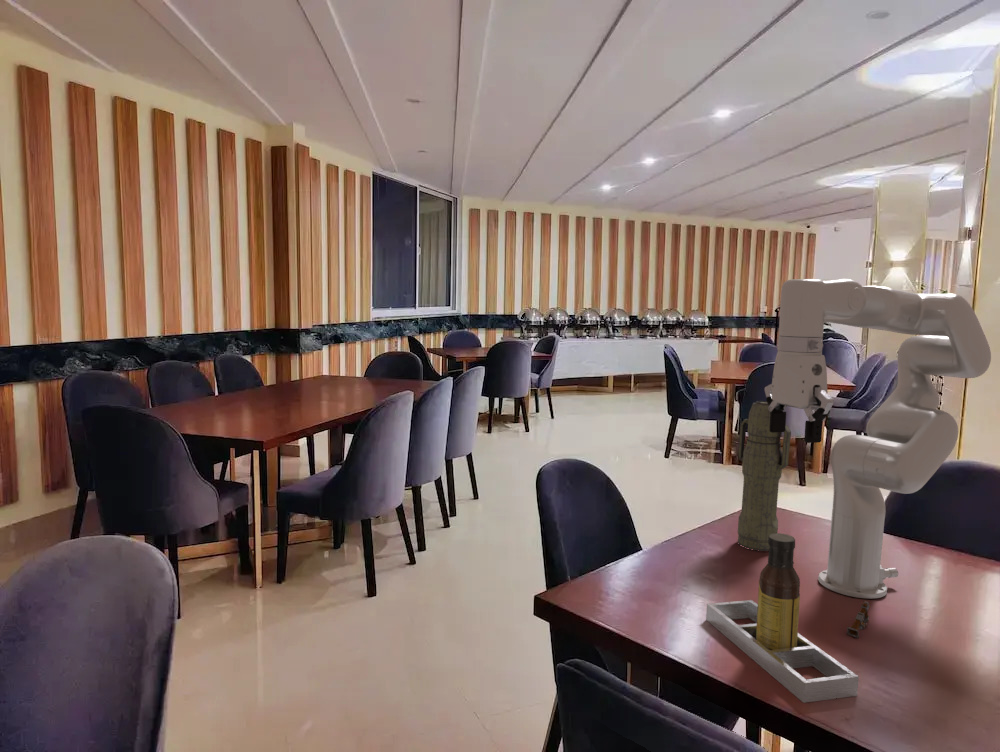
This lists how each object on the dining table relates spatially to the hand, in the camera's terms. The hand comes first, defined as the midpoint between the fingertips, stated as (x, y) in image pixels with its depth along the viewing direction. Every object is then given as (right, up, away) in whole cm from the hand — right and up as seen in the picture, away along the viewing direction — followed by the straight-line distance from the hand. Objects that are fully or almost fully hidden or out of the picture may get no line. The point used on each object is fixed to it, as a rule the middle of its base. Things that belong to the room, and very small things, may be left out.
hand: (794, 436), depth 125 cm
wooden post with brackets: (+8, -34, -6) cm, 36 cm away
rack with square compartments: (-10, -34, -16) cm, 39 cm away
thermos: (+7, -30, +36) cm, 47 cm away
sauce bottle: (-10, -34, -16) cm, 39 cm away
